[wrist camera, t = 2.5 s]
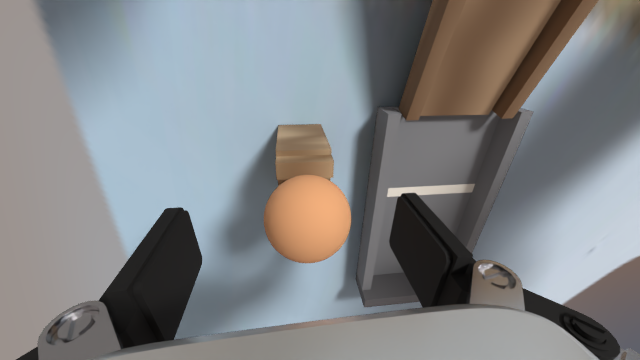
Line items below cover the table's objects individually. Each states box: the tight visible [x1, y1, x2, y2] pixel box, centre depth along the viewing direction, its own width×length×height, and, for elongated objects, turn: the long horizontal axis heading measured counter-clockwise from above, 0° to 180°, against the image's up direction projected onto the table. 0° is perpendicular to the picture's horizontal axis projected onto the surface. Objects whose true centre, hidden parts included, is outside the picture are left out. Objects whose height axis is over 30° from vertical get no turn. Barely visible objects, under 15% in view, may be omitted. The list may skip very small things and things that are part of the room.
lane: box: [356, 107, 533, 307], centre depth 19 cm, size 10×17×3 cm, turn 179°
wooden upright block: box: [275, 124, 334, 186], centre depth 15 cm, size 3×5×5 cm, turn 179°
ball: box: [264, 175, 351, 263], centre depth 11 cm, size 4×4×4 cm
